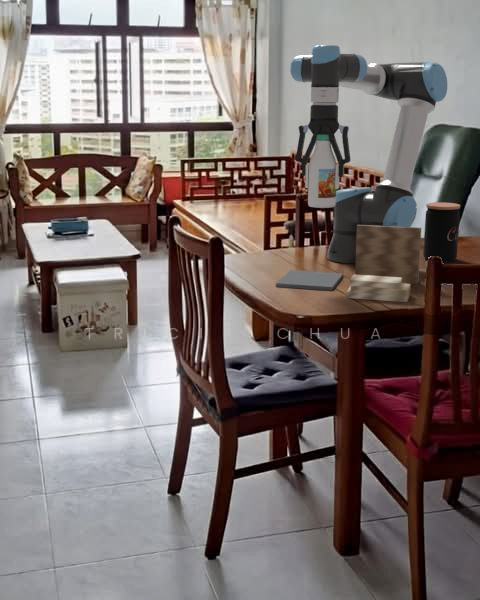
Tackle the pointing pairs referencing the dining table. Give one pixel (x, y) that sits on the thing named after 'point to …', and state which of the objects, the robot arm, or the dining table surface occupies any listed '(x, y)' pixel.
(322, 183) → the milk bottle
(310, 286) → the charcoal mat
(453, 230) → the coffee jar
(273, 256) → the dining table surface
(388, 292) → the offcut rack
